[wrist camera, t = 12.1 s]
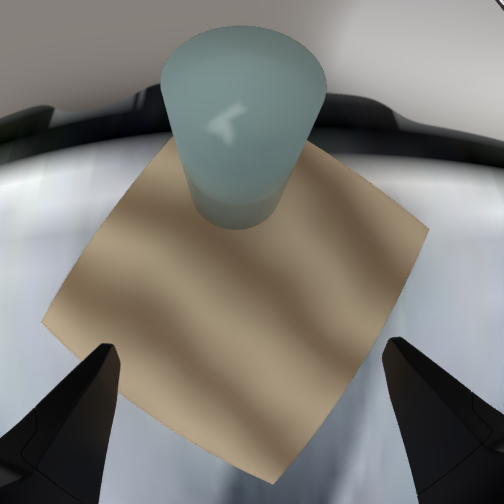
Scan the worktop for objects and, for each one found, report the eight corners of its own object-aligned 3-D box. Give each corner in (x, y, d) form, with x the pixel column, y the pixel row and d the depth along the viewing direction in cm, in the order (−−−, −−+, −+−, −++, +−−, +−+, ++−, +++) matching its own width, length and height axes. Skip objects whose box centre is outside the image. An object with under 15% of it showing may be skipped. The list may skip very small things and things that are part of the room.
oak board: (270, 474, 17) (273, 484, 16) (52, 322, 18) (40, 322, 16) (418, 234, 21) (429, 229, 19) (217, 102, 22) (217, 90, 20)
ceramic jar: (217, 246, 18) (205, 170, 8) (175, 170, 19) (138, 56, 9) (298, 202, 19) (358, 105, 9) (252, 134, 20) (270, 14, 10)
